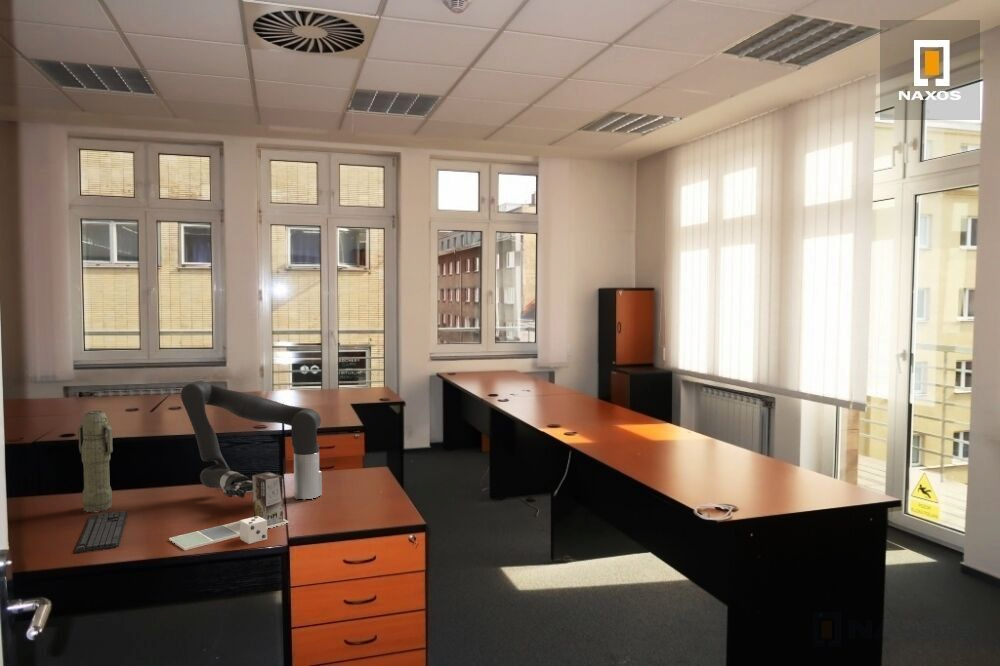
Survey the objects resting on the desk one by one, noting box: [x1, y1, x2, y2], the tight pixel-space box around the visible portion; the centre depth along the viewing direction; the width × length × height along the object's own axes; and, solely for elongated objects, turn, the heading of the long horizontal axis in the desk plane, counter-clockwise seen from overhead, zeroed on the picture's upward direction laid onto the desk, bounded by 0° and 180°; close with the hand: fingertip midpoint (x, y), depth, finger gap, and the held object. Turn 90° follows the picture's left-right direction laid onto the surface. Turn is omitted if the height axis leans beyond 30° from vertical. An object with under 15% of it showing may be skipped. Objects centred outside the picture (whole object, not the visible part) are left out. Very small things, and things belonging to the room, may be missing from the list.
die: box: [239, 516, 268, 545], centre depth 216 cm, size 6×6×6 cm
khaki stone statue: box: [77, 410, 114, 512], centre depth 245 cm, size 9×12×35 cm
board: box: [169, 518, 290, 551], centre depth 222 cm, size 34×12×1 cm, turn 136°
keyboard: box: [75, 510, 128, 554], centre depth 222 cm, size 35×11×2 cm, turn 25°
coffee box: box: [252, 471, 284, 526], centre depth 231 cm, size 9×6×16 cm
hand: (255, 492), depth 237 cm, fingers open, 8 cm apart
